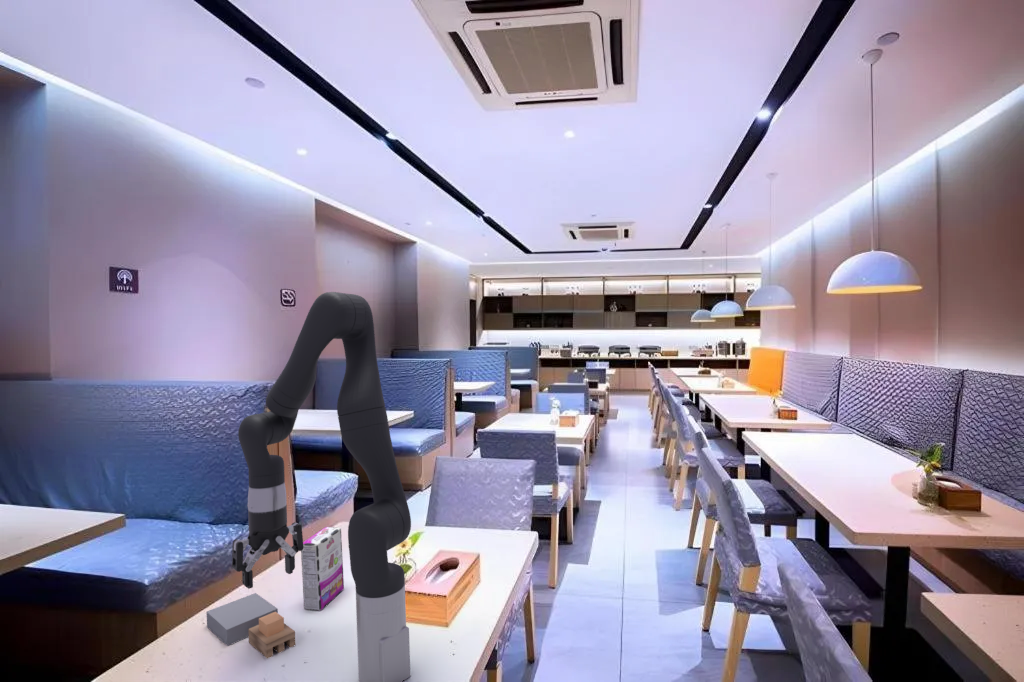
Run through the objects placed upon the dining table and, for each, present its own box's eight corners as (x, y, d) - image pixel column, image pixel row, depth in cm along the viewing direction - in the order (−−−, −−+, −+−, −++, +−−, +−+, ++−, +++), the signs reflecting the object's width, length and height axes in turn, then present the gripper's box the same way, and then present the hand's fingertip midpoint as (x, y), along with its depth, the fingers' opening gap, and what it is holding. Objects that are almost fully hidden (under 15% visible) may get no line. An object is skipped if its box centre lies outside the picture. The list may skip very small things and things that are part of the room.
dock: (278, 623, 120) (277, 608, 120) (227, 645, 112) (226, 629, 112) (256, 607, 128) (255, 592, 128) (207, 626, 120) (206, 611, 120)
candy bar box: (327, 588, 137) (325, 526, 137) (344, 589, 136) (342, 526, 136) (301, 610, 126) (299, 542, 126) (320, 611, 125) (318, 543, 125)
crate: (284, 629, 112) (283, 617, 112) (267, 637, 109) (266, 624, 109) (275, 623, 115) (275, 611, 115) (259, 630, 112) (258, 618, 112)
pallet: (295, 646, 111) (295, 631, 111) (267, 659, 107) (266, 644, 107) (276, 631, 117) (276, 617, 117) (248, 643, 113) (248, 628, 113)
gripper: (239, 518, 104) (242, 598, 104) (307, 500, 115) (309, 572, 115) (225, 510, 109) (227, 587, 109) (291, 493, 120) (293, 563, 120)
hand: (269, 579), depth 112 cm, fingers open, 8 cm apart
